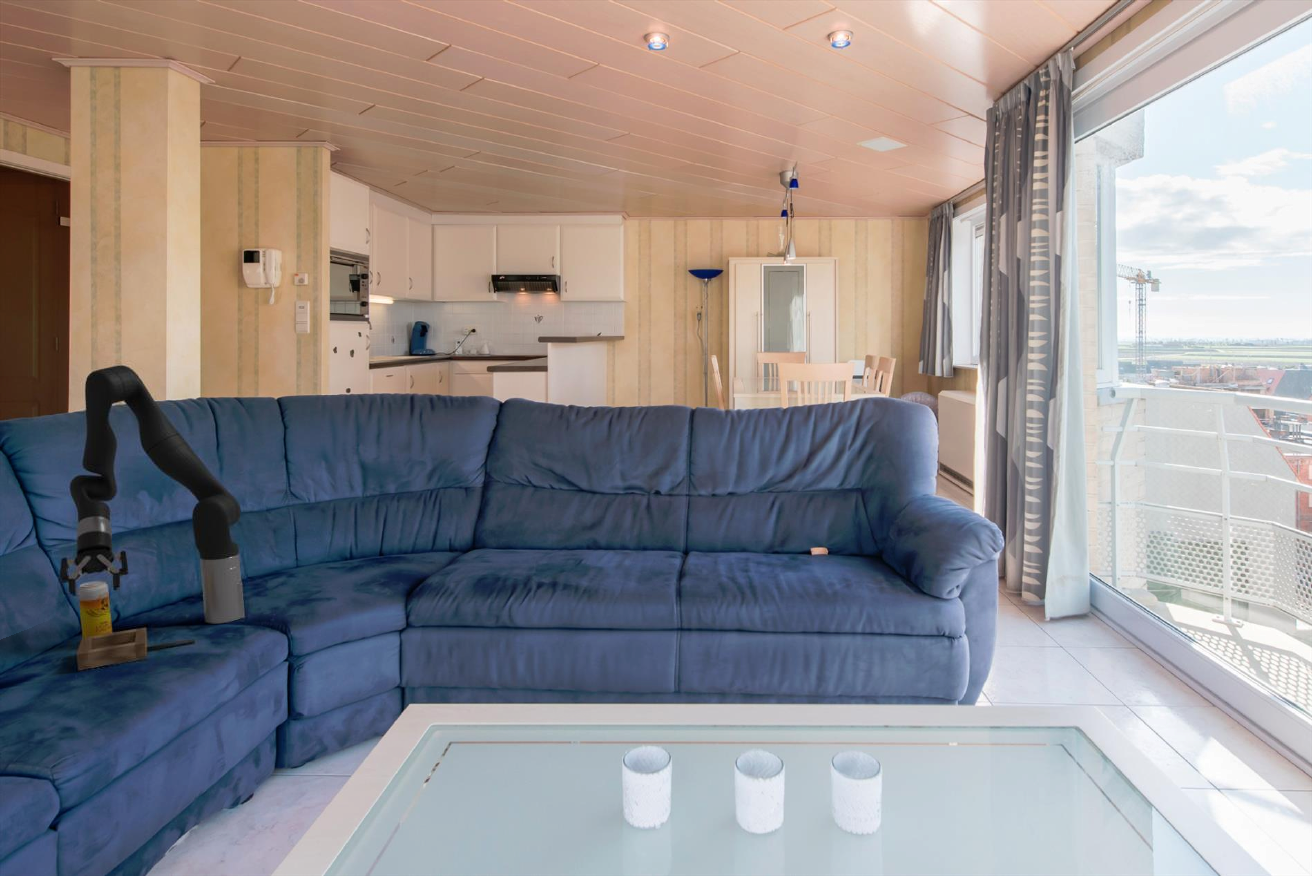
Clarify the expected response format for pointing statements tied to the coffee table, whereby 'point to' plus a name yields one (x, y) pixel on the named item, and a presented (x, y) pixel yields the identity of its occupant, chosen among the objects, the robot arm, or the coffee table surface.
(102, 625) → the soda can
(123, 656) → the walnut collar
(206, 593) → the robot arm
